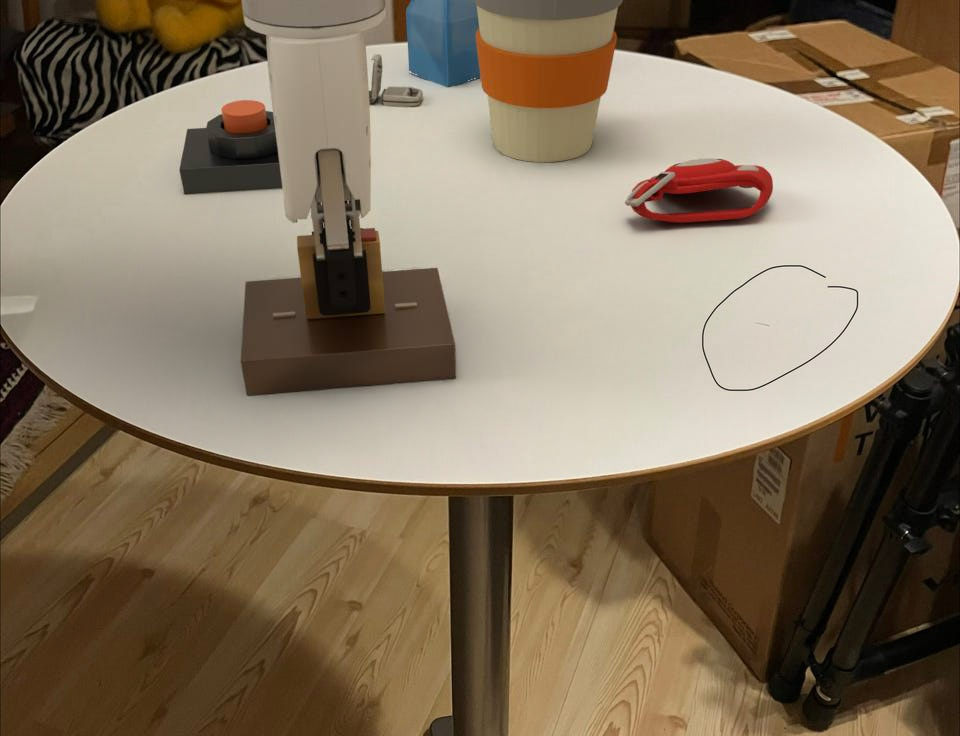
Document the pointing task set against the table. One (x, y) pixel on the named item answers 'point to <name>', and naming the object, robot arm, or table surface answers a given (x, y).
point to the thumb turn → (373, 264)
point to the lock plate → (346, 337)
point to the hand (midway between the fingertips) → (344, 298)
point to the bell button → (244, 116)
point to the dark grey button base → (230, 159)
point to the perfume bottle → (443, 40)
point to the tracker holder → (701, 188)
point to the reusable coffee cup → (545, 73)
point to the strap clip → (392, 90)
